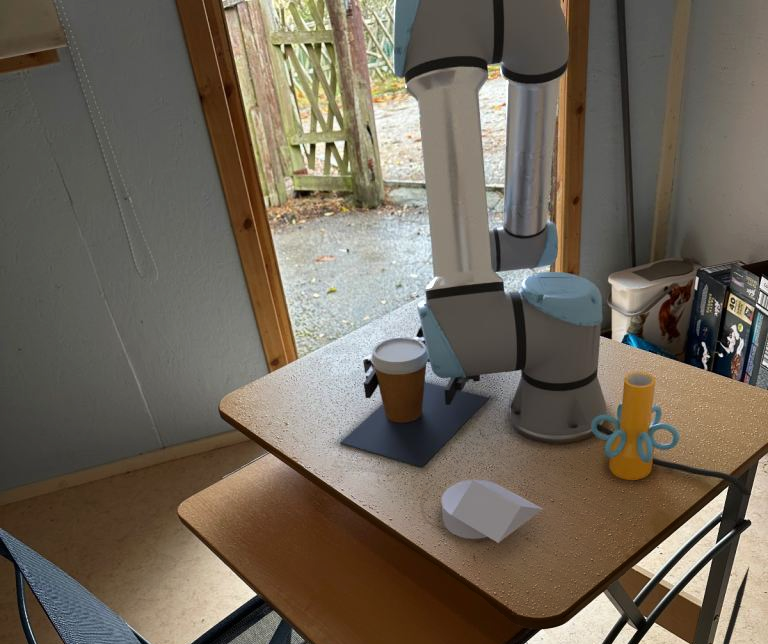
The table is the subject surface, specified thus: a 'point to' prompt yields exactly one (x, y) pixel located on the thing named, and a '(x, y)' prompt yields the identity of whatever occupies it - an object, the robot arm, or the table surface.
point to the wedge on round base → (484, 510)
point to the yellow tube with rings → (634, 429)
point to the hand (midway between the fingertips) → (406, 394)
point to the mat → (416, 427)
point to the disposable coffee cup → (401, 377)
